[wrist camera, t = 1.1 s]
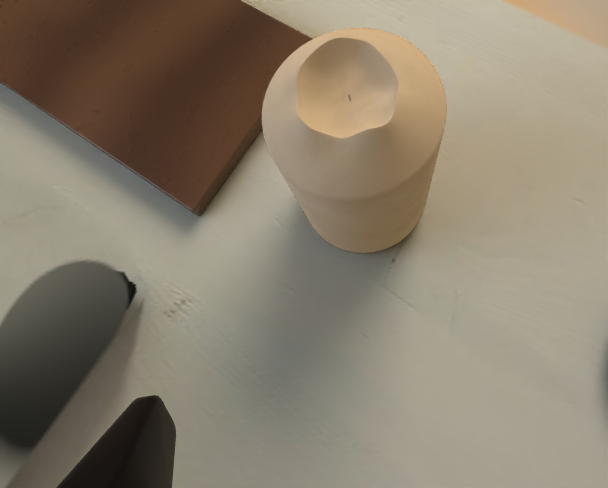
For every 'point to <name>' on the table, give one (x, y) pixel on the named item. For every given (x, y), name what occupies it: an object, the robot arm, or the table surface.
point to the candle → (357, 134)
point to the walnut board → (150, 80)
